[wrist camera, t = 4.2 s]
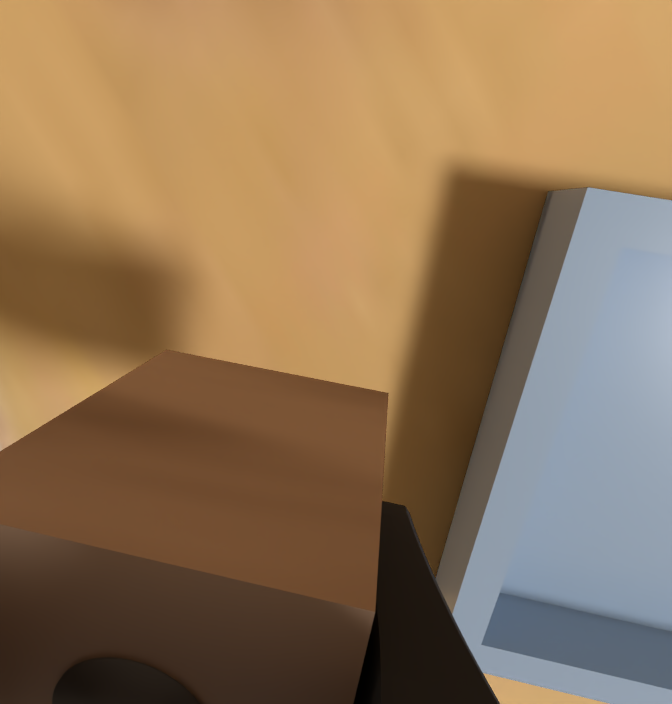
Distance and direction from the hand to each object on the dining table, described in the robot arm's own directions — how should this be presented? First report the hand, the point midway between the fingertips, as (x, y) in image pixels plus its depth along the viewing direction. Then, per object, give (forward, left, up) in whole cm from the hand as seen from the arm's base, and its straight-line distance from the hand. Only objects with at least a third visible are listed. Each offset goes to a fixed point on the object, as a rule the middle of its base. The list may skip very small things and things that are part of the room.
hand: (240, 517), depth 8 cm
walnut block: (0, 0, -2) cm, 2 cm away
